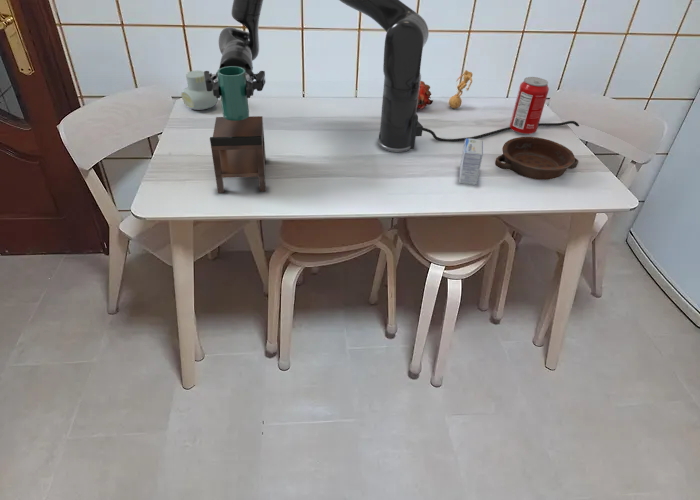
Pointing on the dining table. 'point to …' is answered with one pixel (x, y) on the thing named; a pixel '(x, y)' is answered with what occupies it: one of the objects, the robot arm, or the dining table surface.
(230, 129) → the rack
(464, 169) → the medicine box
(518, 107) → the soda can
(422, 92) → the dragon fruit
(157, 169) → the dining table surface
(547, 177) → the dish
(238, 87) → the tumbler
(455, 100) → the figurine
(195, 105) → the air freshener
